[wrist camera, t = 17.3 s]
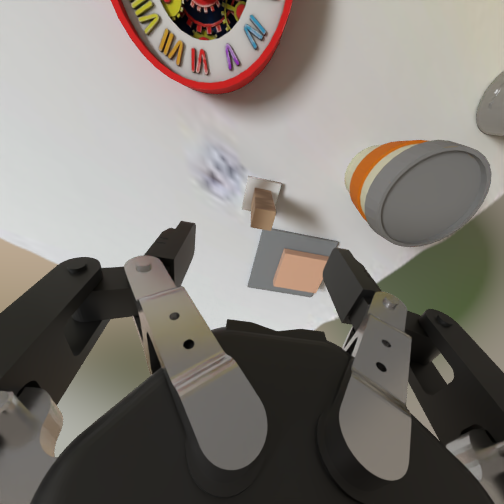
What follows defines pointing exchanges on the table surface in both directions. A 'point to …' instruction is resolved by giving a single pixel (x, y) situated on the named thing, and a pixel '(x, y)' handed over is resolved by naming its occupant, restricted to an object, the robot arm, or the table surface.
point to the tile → (300, 271)
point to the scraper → (261, 201)
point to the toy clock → (206, 38)
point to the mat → (272, 252)
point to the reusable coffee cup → (418, 188)
